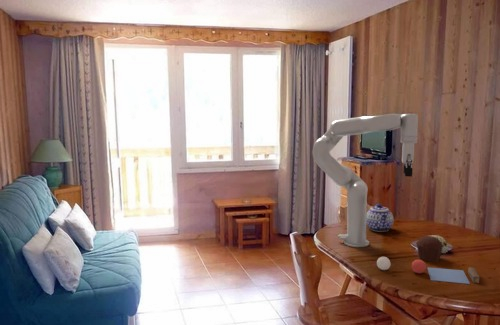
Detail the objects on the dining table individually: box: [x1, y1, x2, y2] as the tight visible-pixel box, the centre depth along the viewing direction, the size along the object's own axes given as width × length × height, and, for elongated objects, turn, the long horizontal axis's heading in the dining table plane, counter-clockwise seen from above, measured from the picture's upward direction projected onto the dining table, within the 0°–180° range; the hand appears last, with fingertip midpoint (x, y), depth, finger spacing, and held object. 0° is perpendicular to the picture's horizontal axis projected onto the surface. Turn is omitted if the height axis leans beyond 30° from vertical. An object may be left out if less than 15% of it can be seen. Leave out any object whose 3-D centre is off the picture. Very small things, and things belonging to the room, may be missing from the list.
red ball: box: [411, 259, 427, 274], centre depth 173 cm, size 6×6×6 cm
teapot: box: [366, 203, 394, 233], centre depth 237 cm, size 25×15×15 cm, turn 173°
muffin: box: [415, 235, 443, 262], centre depth 190 cm, size 12×11×10 cm
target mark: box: [426, 266, 471, 285], centre depth 170 cm, size 14×14×1 cm
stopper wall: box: [467, 267, 480, 284], centre depth 167 cm, size 2×10×2 cm, turn 163°
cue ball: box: [376, 256, 392, 271], centre depth 177 cm, size 6×6×6 cm
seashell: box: [427, 234, 449, 254], centre depth 201 cm, size 10×10×10 cm
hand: (407, 174), depth 201 cm, fingers open, 9 cm apart
